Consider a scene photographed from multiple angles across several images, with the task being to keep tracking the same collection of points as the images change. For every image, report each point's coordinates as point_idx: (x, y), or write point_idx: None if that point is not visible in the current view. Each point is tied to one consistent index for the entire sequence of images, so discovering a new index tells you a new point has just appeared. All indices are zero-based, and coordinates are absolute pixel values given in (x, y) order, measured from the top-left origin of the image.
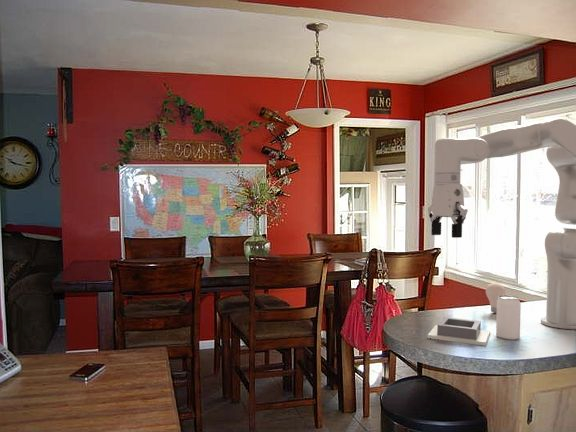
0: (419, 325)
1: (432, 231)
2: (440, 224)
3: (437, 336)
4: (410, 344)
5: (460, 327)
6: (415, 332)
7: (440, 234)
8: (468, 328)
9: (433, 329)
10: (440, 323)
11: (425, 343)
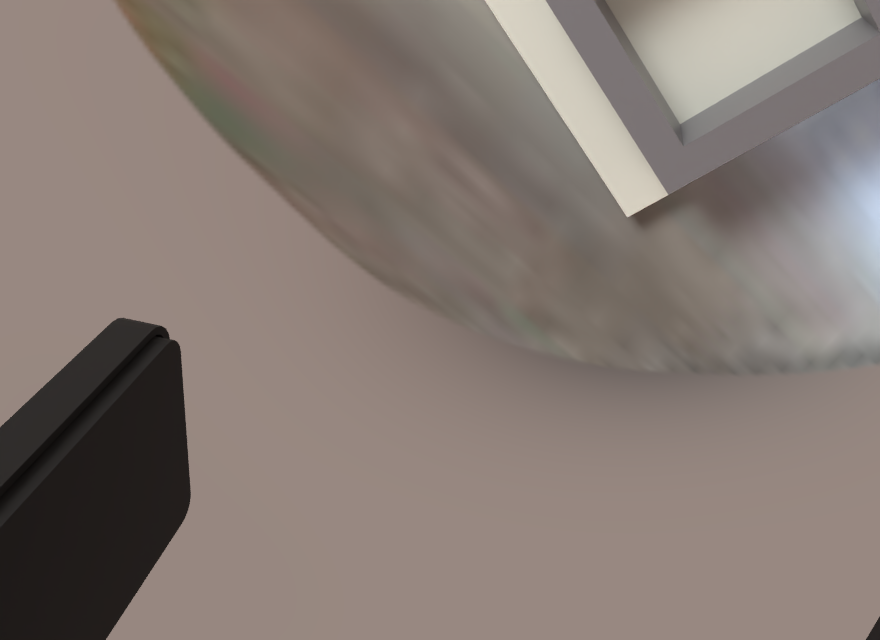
0: (368, 28)
1: (144, 569)
2: (15, 541)
3: (683, 186)
4: (660, 364)
5: (817, 105)
6: (494, 178)
7: (175, 345)
8: (877, 75)
9: (555, 90)
10: (652, 146)
11: (695, 291)
